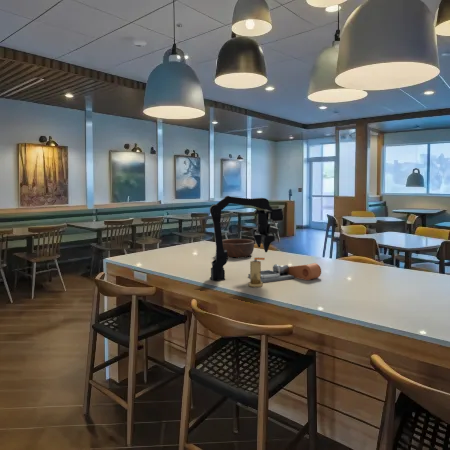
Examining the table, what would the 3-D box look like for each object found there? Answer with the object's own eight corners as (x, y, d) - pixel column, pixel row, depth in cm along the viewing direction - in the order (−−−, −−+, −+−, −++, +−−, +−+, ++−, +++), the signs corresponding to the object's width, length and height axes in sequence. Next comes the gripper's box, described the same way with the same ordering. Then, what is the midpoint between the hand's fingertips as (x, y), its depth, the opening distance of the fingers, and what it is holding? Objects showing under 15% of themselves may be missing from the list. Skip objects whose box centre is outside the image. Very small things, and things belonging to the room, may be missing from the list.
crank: (321, 279, 203) (321, 264, 202) (311, 281, 198) (311, 266, 197) (292, 272, 219) (292, 258, 218) (282, 274, 214) (282, 260, 213)
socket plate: (261, 282, 196) (261, 269, 195) (248, 276, 208) (248, 264, 208) (294, 278, 204) (294, 265, 203) (279, 273, 217) (279, 260, 216)
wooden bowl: (244, 260, 254) (244, 245, 253) (212, 257, 266) (212, 242, 265) (260, 254, 275) (260, 240, 274) (229, 251, 288) (229, 237, 287)
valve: (246, 286, 189) (246, 258, 187) (250, 283, 195) (250, 256, 194) (263, 287, 186) (263, 259, 185) (265, 284, 193) (265, 256, 192)
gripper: (284, 224, 197) (284, 253, 201) (269, 216, 214) (268, 243, 218) (264, 226, 194) (264, 255, 198) (250, 218, 211) (250, 245, 215)
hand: (262, 249), depth 207 cm, fingers open, 9 cm apart
